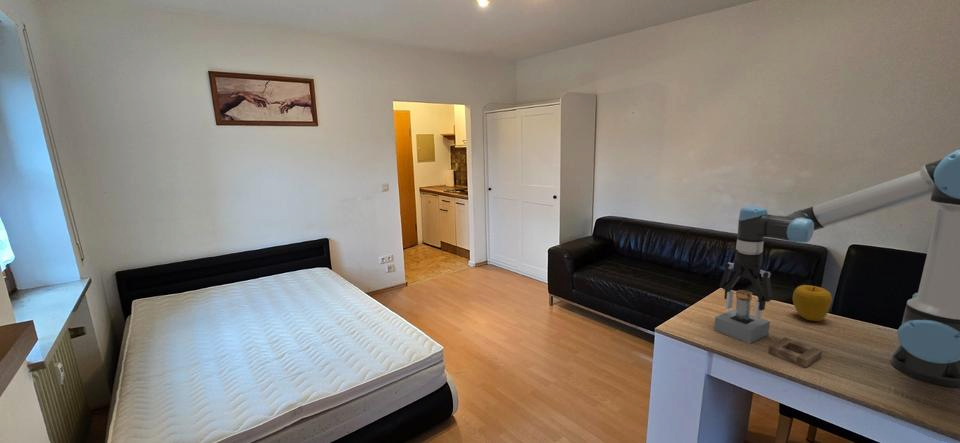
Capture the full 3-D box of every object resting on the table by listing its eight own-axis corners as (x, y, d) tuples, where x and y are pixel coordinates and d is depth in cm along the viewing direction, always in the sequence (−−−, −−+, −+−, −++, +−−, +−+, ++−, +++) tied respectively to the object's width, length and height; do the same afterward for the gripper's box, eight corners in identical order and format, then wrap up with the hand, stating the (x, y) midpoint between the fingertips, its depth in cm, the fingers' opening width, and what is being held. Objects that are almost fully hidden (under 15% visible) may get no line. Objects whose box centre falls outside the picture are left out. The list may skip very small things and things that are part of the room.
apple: (783, 314, 149) (787, 283, 147) (804, 310, 152) (808, 279, 149) (814, 327, 139) (819, 293, 136) (836, 322, 142) (841, 289, 139)
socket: (768, 334, 135) (770, 321, 134) (749, 344, 130) (751, 330, 129) (732, 321, 146) (734, 309, 145) (714, 329, 140) (715, 317, 139)
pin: (751, 333, 137) (755, 292, 134) (744, 336, 135) (747, 295, 132) (738, 328, 141) (740, 289, 138) (731, 331, 139) (733, 292, 136)
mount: (821, 357, 120) (822, 350, 120) (805, 367, 116) (806, 360, 115) (783, 344, 129) (784, 337, 128) (768, 352, 124) (769, 345, 124)
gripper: (791, 257, 124) (783, 321, 129) (723, 243, 143) (718, 300, 147) (779, 261, 121) (771, 327, 125) (711, 246, 139) (706, 304, 144)
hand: (742, 312), depth 136 cm, fingers open, 9 cm apart
